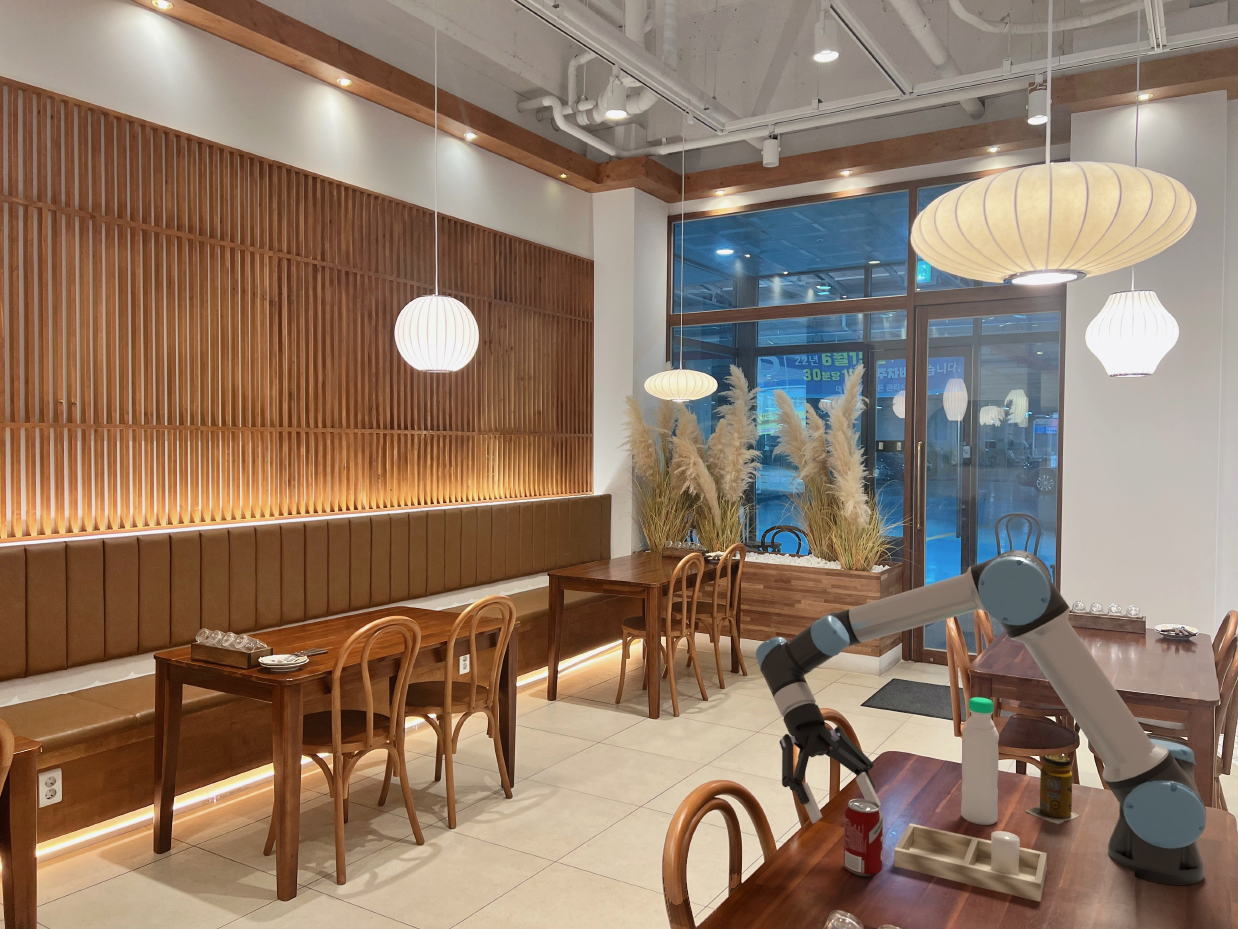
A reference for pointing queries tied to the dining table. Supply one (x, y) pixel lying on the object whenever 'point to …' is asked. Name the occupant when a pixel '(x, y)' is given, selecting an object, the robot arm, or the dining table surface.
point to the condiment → (1055, 790)
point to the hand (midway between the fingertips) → (847, 814)
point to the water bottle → (980, 764)
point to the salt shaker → (1005, 852)
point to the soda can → (863, 837)
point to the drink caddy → (968, 861)
